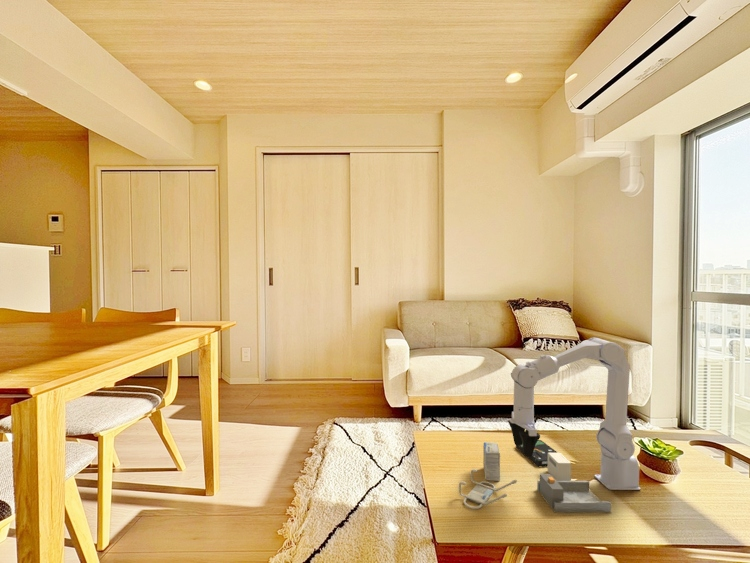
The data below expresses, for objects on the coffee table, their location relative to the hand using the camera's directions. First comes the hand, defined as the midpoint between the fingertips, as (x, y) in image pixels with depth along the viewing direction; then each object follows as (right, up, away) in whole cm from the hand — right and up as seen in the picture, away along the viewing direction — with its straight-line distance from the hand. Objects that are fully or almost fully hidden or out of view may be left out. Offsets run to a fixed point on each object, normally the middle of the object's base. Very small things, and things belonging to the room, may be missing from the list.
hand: (523, 450), depth 117 cm
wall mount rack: (-13, -11, -8) cm, 19 cm away
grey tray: (+11, -10, -9) cm, 17 cm away
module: (+13, -10, +4) cm, 17 cm away
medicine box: (-8, -10, +5) cm, 14 cm away
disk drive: (+13, -11, +18) cm, 25 cm away
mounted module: (+5, -10, -9) cm, 14 cm away
